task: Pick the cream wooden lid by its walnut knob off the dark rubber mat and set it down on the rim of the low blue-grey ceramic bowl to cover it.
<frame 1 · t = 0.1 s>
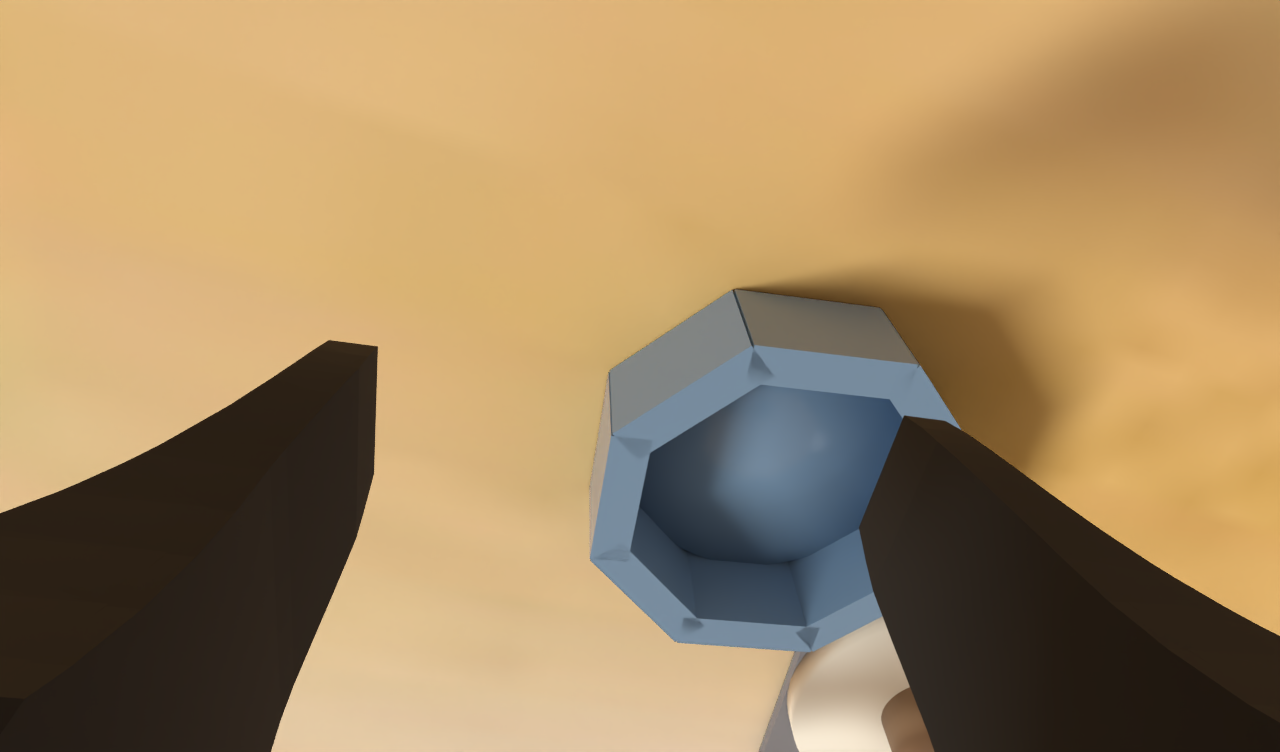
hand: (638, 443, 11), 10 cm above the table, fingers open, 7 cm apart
bowl: (764, 449, 24), on the table
lid: (915, 687, 29), resting on mat
mat: (911, 678, 29), on the table
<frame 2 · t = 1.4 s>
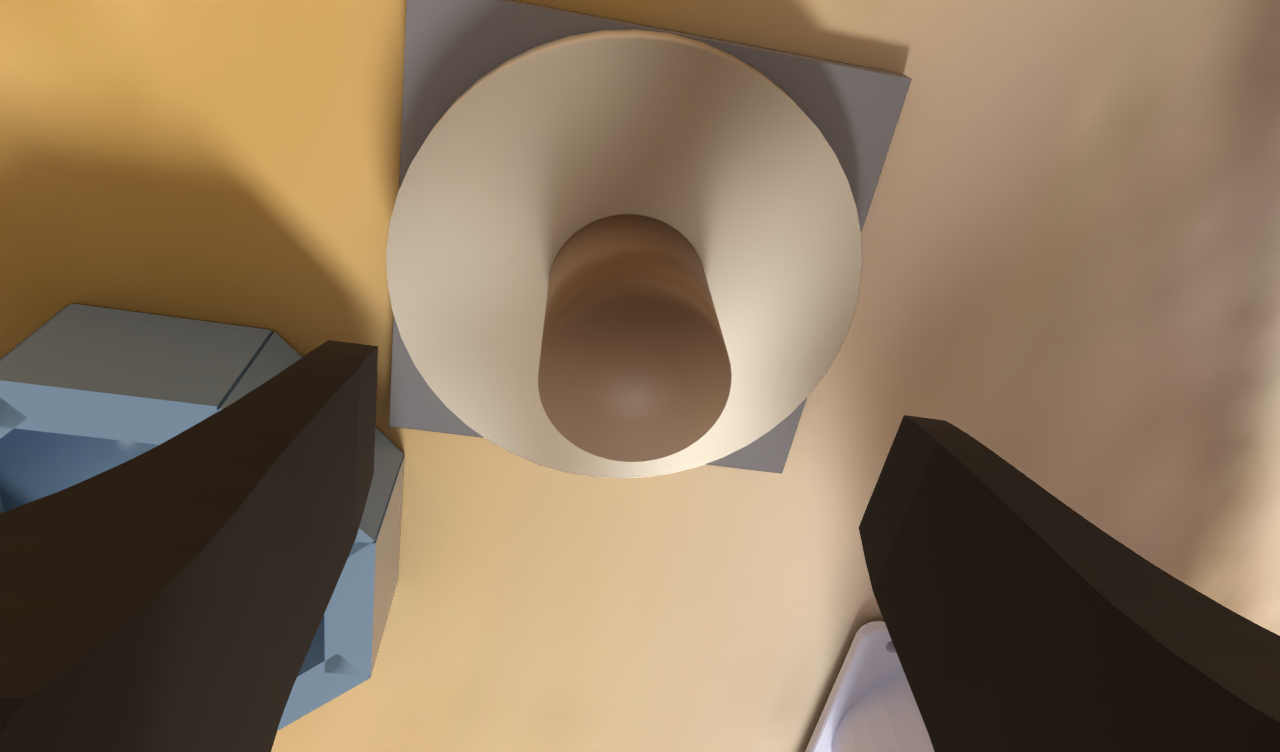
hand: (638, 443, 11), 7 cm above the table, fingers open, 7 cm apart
bowl: (192, 498, 20), on the table
lid: (625, 268, 17), resting on mat
mat: (624, 261, 17), on the table
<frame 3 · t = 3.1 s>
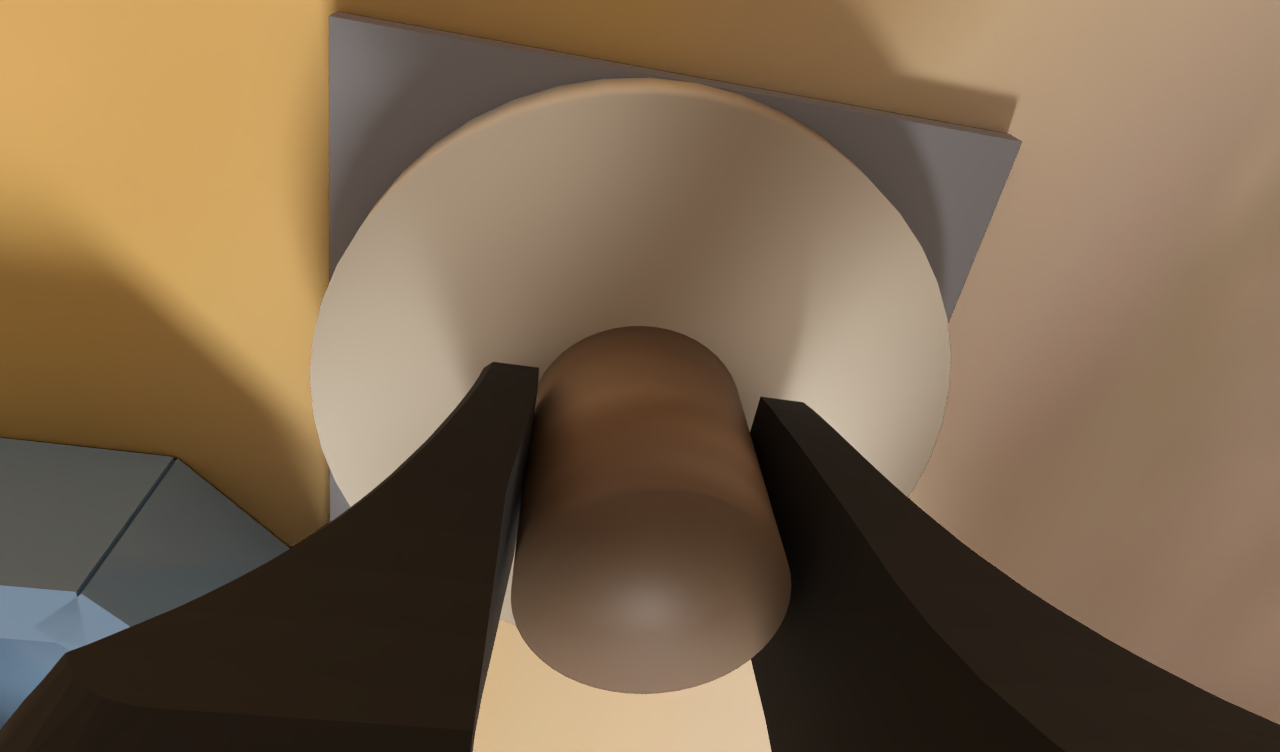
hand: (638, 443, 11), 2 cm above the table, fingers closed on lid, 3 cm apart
bowl: (86, 651, 16), on the table
lid: (632, 383, 13), resting on mat, touching gripper
mat: (631, 370, 13), on the table
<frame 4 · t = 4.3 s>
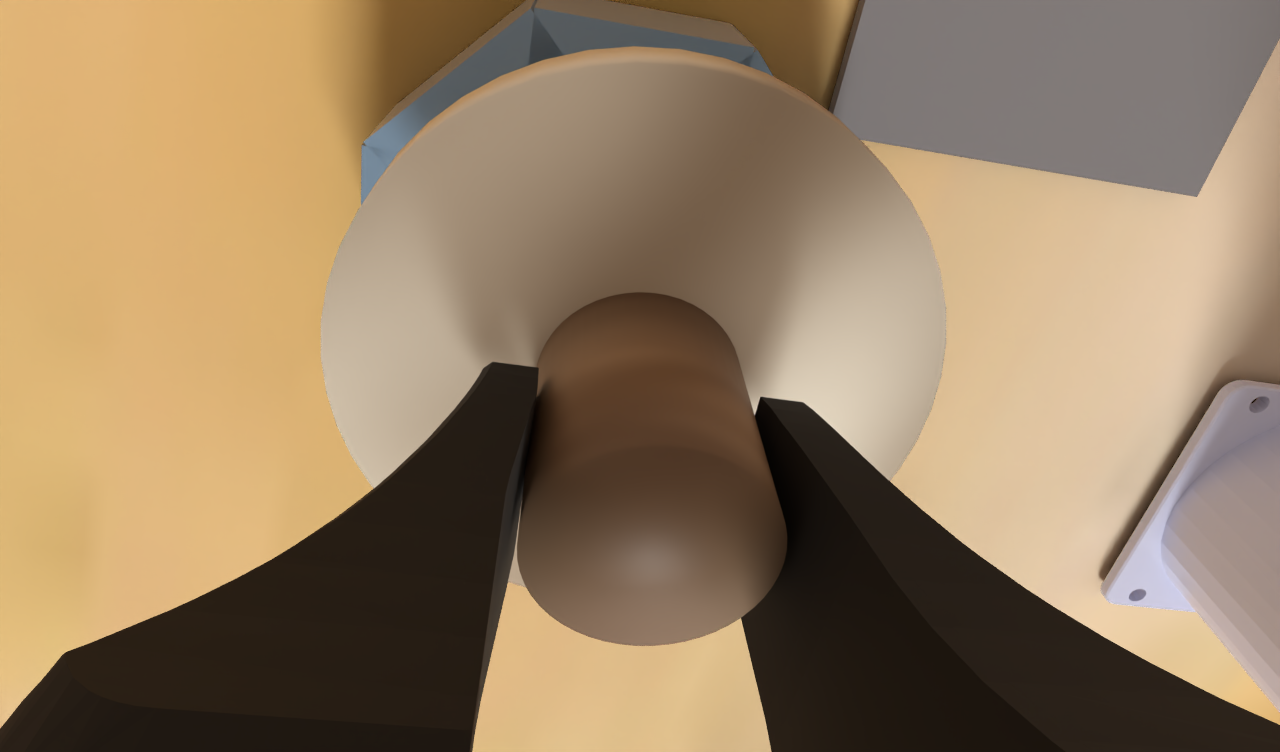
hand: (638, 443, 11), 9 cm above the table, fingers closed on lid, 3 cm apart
bowl: (602, 226, 20), on the table
lid: (635, 350, 13), point 7 cm above the table, touching gripper
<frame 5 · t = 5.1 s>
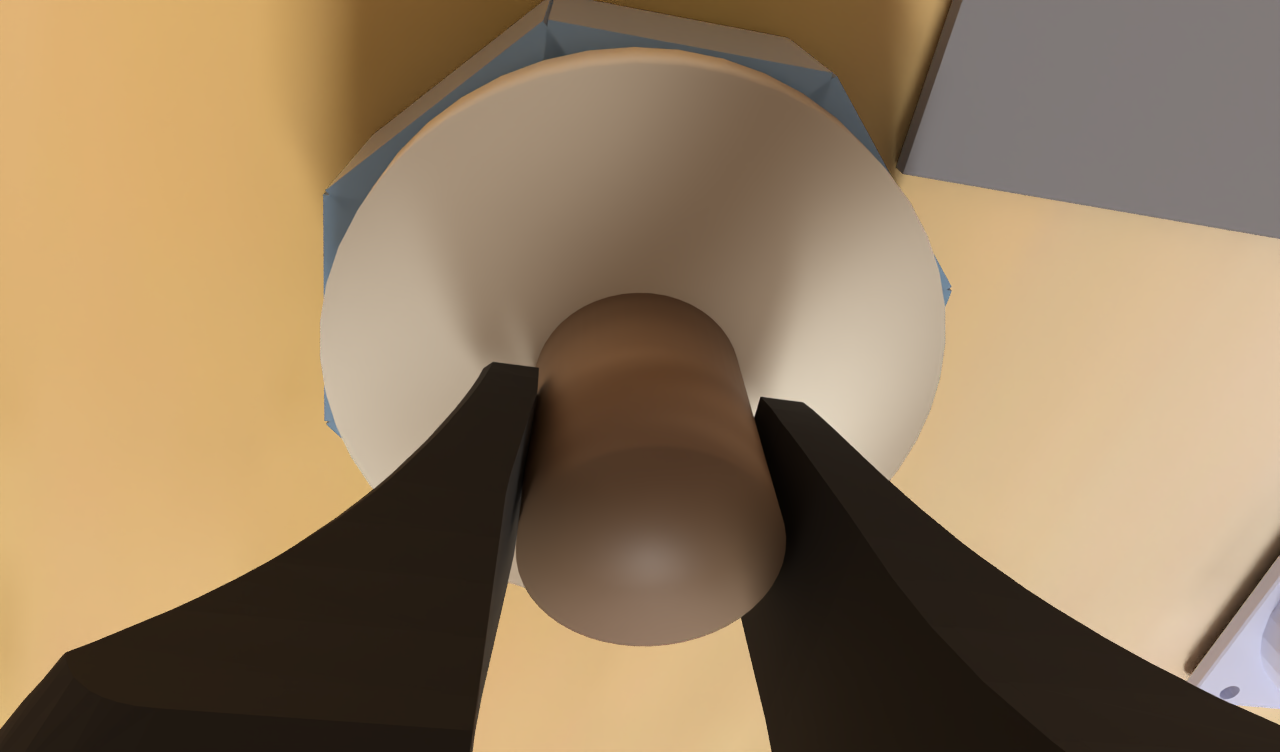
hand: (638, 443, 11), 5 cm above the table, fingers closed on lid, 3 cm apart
bowl: (624, 281, 16), on the table
lid: (634, 350, 13), point 3 cm above the table, touching gripper
when the fingers open (5 cm above the table, at t = 5.8 s): lid stays where it is, resting on bowl.
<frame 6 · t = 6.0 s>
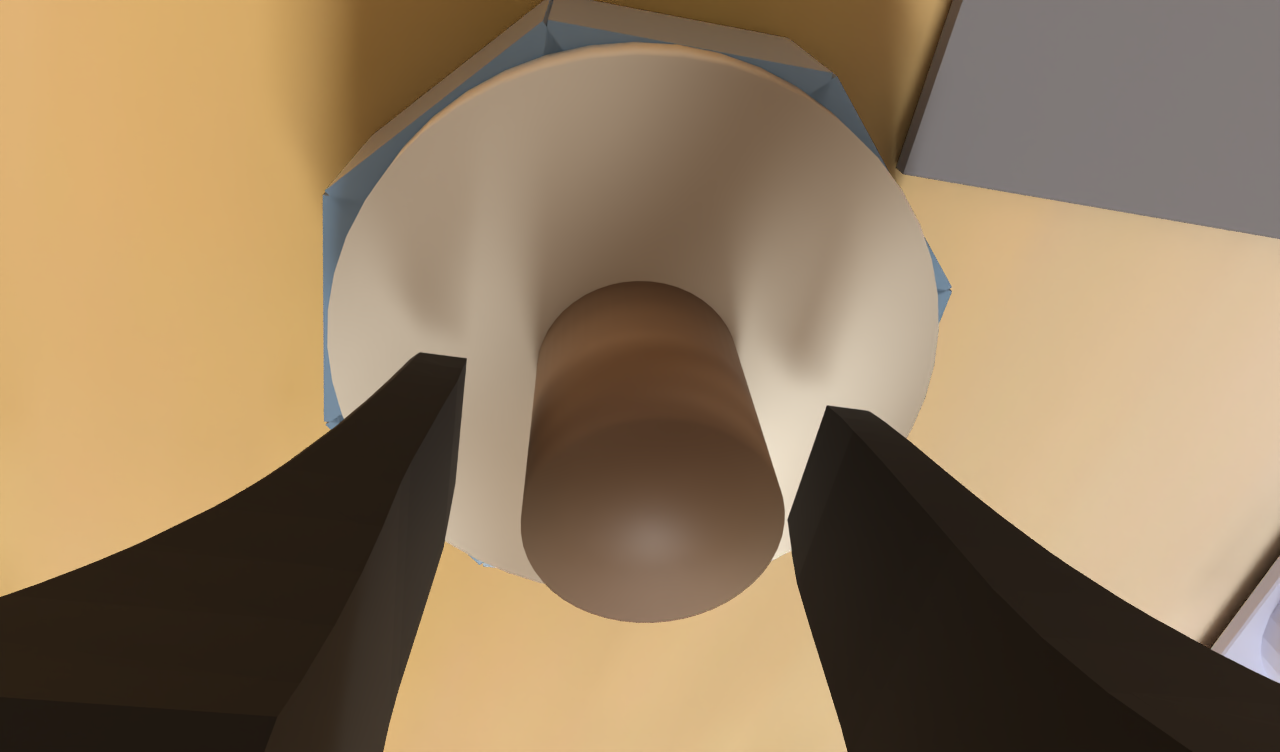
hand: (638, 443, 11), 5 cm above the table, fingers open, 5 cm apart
bowl: (624, 281, 16), on the table
lid: (634, 341, 13), point 3 cm above the table, touching bowl
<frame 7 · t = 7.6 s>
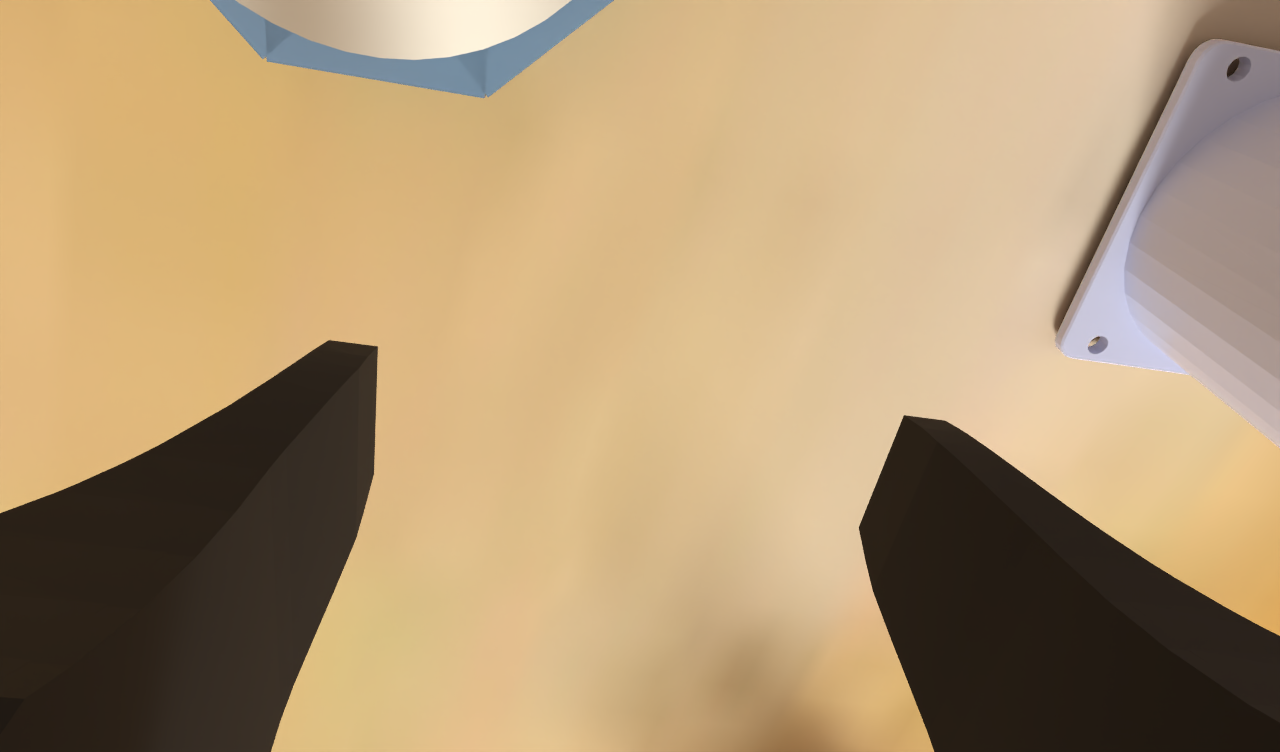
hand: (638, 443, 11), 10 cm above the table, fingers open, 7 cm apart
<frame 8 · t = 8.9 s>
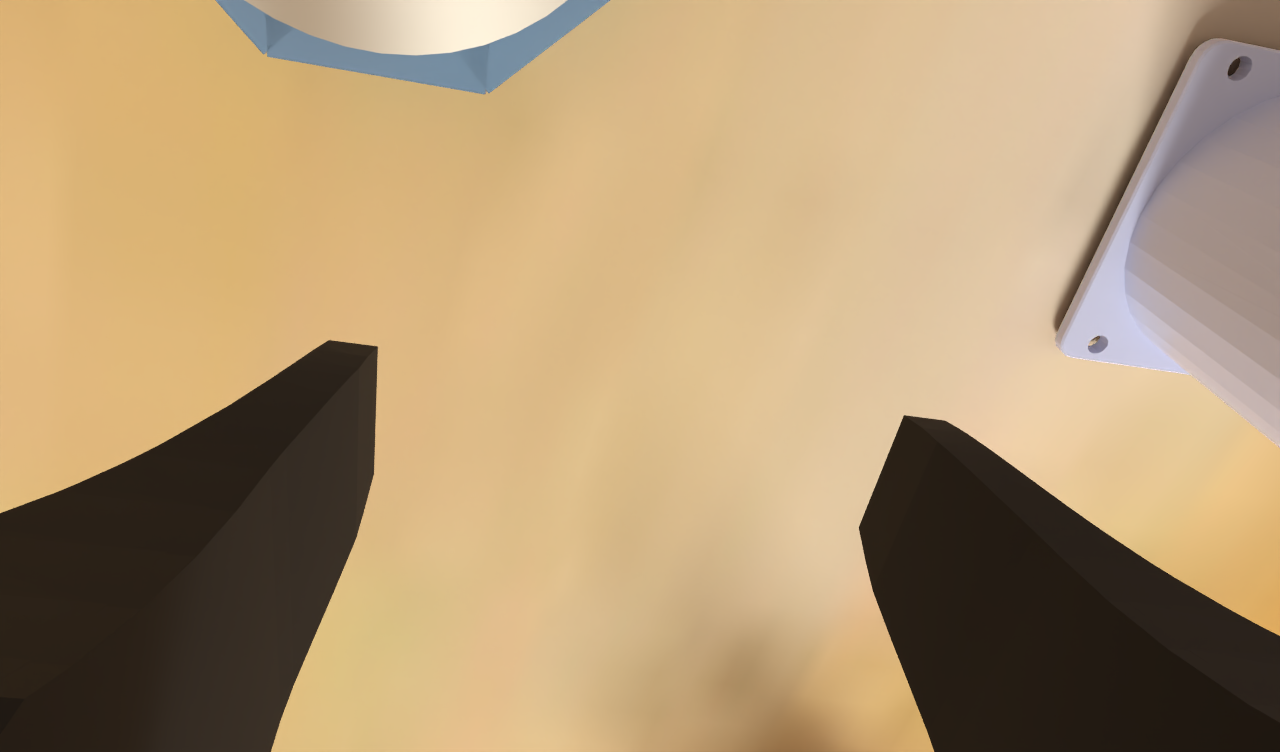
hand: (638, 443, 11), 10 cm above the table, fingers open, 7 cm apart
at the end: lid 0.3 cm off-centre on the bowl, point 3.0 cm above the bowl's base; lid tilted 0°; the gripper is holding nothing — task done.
